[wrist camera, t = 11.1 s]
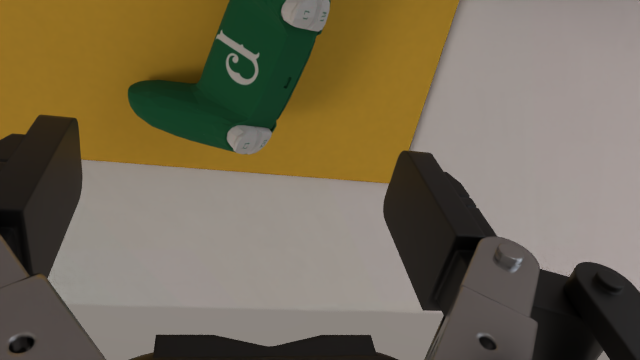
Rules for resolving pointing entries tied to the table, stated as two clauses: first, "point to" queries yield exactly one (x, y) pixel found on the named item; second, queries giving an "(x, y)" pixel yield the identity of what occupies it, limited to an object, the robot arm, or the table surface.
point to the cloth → (187, 66)
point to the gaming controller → (238, 76)
